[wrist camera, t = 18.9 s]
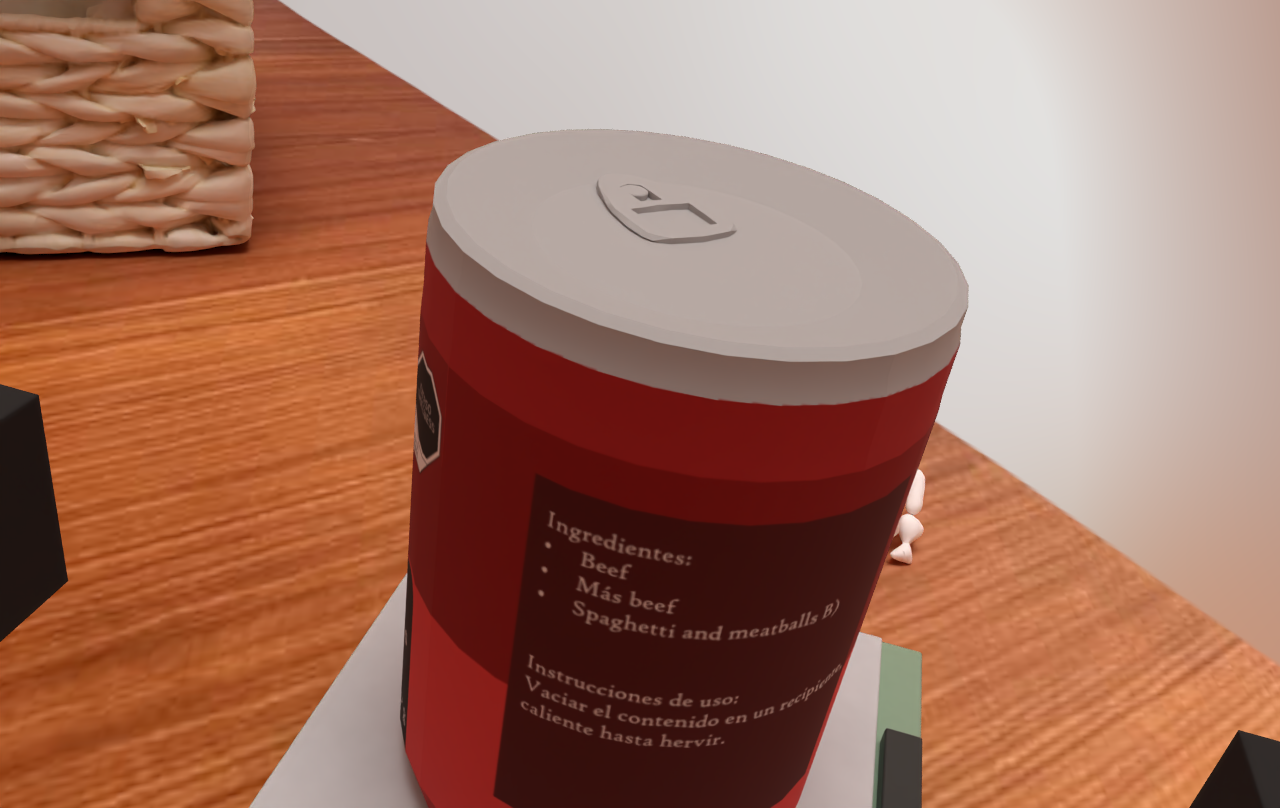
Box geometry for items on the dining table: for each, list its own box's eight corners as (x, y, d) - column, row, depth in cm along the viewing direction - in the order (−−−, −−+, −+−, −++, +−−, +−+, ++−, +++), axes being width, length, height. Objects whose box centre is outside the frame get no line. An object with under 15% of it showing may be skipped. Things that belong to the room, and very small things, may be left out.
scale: (894, 721, 27) (930, 633, 25) (872, 1282, 17) (928, 1191, 15) (442, 592, 28) (449, 501, 27) (169, 1037, 18) (155, 931, 17)
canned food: (583, 558, 26) (658, 103, 20) (871, 760, 22) (1065, 264, 16) (307, 726, 20) (304, 168, 15) (622, 1033, 16) (783, 433, 11)
